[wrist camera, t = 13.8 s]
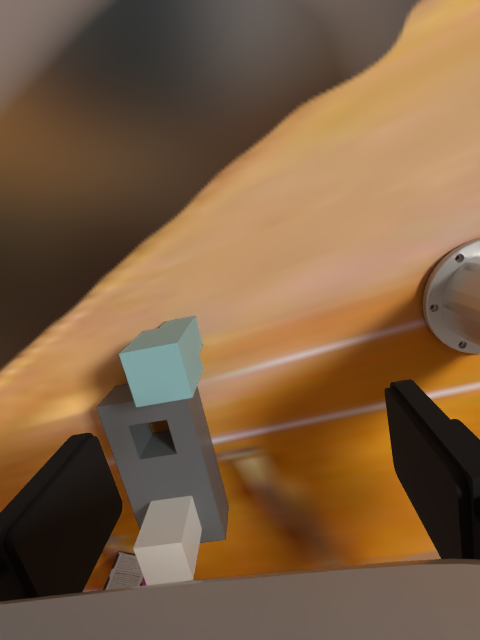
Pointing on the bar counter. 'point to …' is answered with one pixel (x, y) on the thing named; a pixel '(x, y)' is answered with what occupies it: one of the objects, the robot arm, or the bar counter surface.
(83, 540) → the robot arm
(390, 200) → the bar counter surface
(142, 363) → the teal plug
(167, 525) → the block
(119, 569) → the candy bar box
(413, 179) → the bar counter surface
